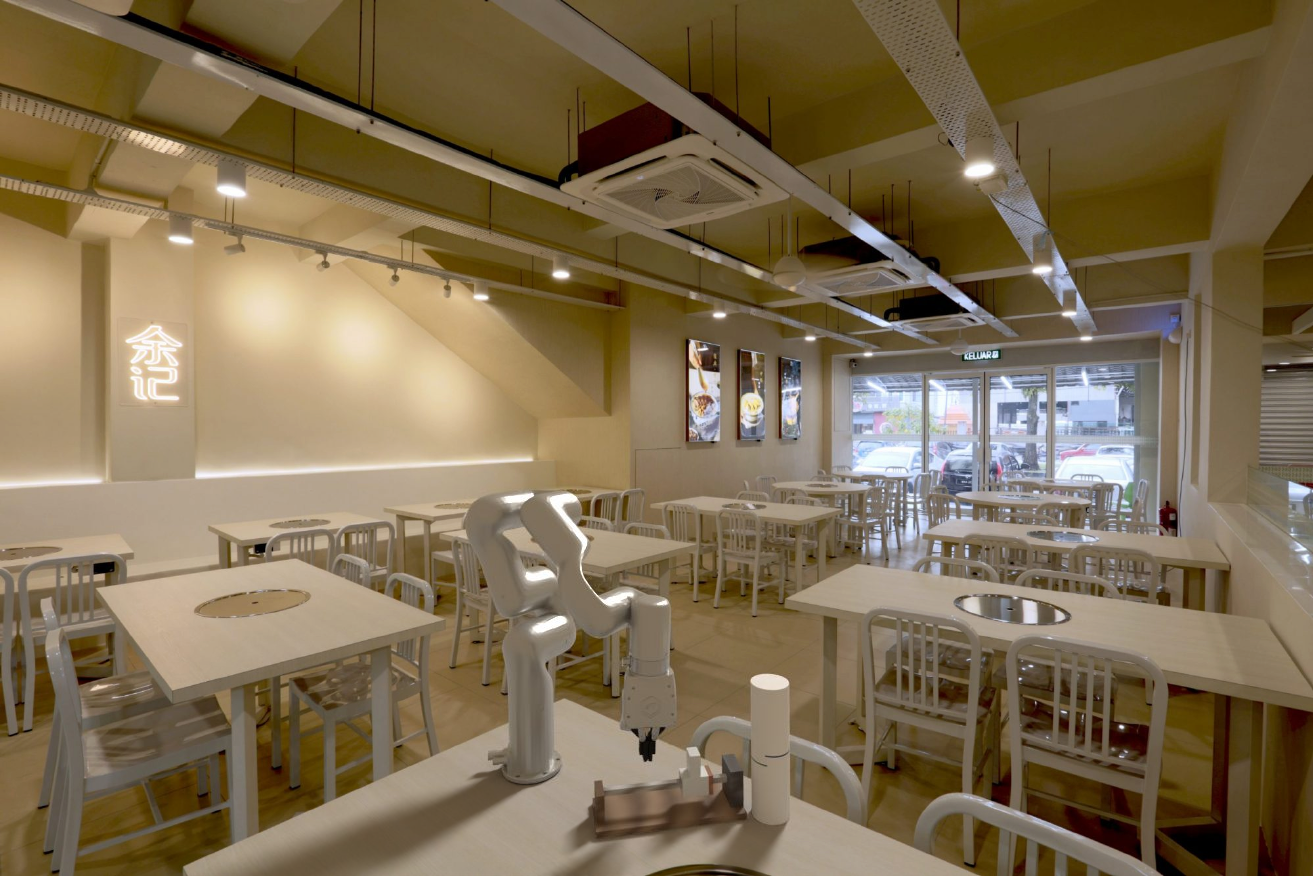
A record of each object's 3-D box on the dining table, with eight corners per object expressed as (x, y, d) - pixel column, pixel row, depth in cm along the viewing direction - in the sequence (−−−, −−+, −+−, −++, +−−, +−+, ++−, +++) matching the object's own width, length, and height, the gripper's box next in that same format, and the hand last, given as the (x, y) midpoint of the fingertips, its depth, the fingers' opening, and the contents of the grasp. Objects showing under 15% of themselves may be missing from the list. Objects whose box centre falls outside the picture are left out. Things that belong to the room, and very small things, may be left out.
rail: (596, 838, 107) (595, 794, 107) (592, 804, 117) (591, 763, 117) (747, 819, 112) (746, 776, 112) (731, 787, 122) (731, 748, 122)
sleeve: (683, 798, 113) (682, 758, 113) (679, 786, 117) (678, 748, 117) (708, 794, 114) (708, 755, 114) (704, 783, 118) (703, 745, 117)
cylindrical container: (790, 827, 110) (789, 691, 109) (750, 822, 111) (749, 688, 111) (789, 803, 117) (788, 675, 116) (752, 799, 118) (751, 672, 118)
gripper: (611, 673, 109) (609, 772, 110) (692, 669, 111) (689, 766, 112) (608, 656, 116) (605, 749, 117) (683, 653, 119) (681, 744, 119)
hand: (646, 757), depth 114 cm, fingers closed
